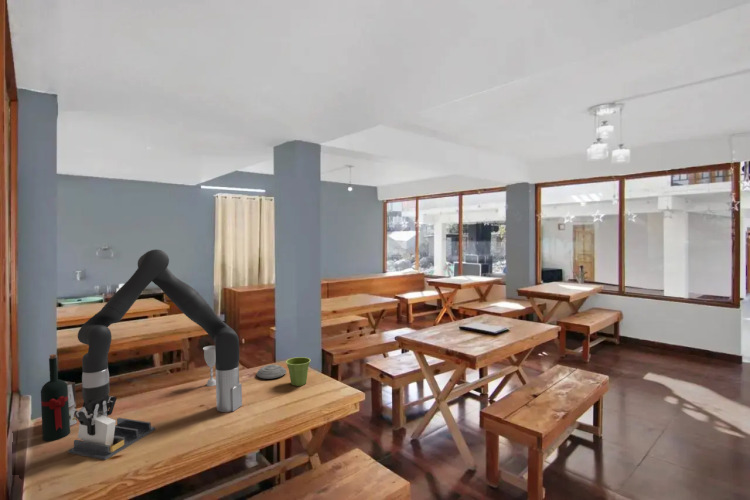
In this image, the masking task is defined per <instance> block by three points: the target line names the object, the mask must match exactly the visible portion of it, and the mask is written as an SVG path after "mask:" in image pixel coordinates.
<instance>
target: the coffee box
mask: <svg viewBox="0 0 750 500" xmlns="http://www.w3.org/2000/svg"><path fill="white" fill-rule="evenodd" d="M64 381H65V382H66V383H67V385H68V402H69V419H70V427H71V426H74V425H75V424H77V421H78V419H77V417H76V416H75V414H74V412H75V411H77V400H76V398H77V396H76V382H75V381H74V382H73V381H68V380H67V381H66V380H64ZM43 386H44V385H43ZM43 386H41V388H42V387H43Z"/></svg>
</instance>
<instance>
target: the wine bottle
mask: <svg viewBox="0 0 750 500" xmlns="http://www.w3.org/2000/svg"><path fill="white" fill-rule="evenodd" d="M48 366H49V370H48V371H49V380H48V381H47V382H46V383H44V384H43V387H42V386H41V390H40V402H41V403H40V405H41V429H42V441H45V442H53V441H58V440H61V439H63V438H66V437H68V436H69V435H70V434H71V426H70V419H69V402H68V385H67V383H66V382H65V381H66V380H64V379H63V380H62V379H60V378H59V377H58V376H59V375H58V357H57V354H56V353H53V354H52V353H51V354H49V358H48Z"/></svg>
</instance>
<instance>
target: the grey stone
mask: <svg viewBox="0 0 750 500" xmlns="http://www.w3.org/2000/svg"><path fill="white" fill-rule="evenodd" d="M285 374H287V369H286V368H285V367H284V366H282V365H279V364H269V365H265V366H262V367H261V368H259V369H258V371H257V372H256V374H255V375H256V376H257V377H258V378H260V379H265V380H269V379H270V380H271V379H272V380H273V379H277V378H280V377H283V376H284V375H285Z"/></svg>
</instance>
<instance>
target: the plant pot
mask: <svg viewBox="0 0 750 500" xmlns="http://www.w3.org/2000/svg"><path fill="white" fill-rule="evenodd" d="M311 361H312V360H311V358H309V357H305V356H304V357H302V356H301V357H300V356H298V357H292V358H288V359H287V360H286V361H285V363H286V365H287V369H288V374H289V379H290V384H291V385H292V386H296V387H302V386H304V385H306V384H307V380H308V373H309V367H310V362H311Z"/></svg>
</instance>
